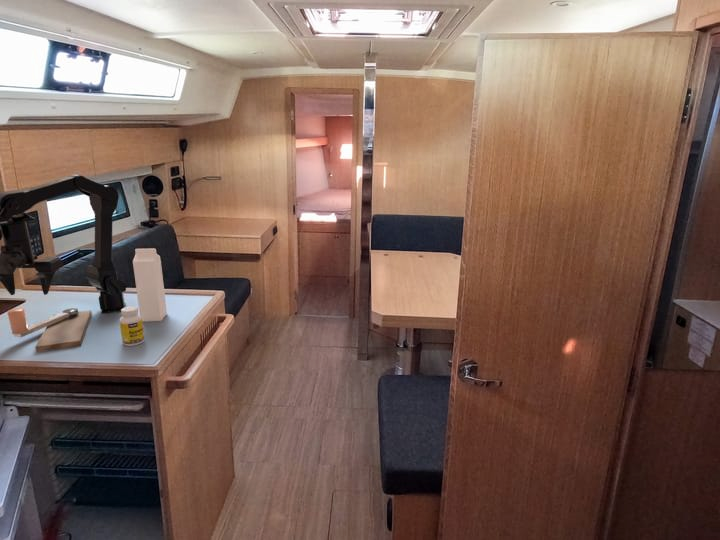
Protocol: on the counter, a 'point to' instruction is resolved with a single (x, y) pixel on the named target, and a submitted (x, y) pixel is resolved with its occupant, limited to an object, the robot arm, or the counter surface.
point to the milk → (149, 284)
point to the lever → (22, 329)
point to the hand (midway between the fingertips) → (29, 294)
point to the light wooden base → (65, 332)
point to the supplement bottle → (131, 326)
